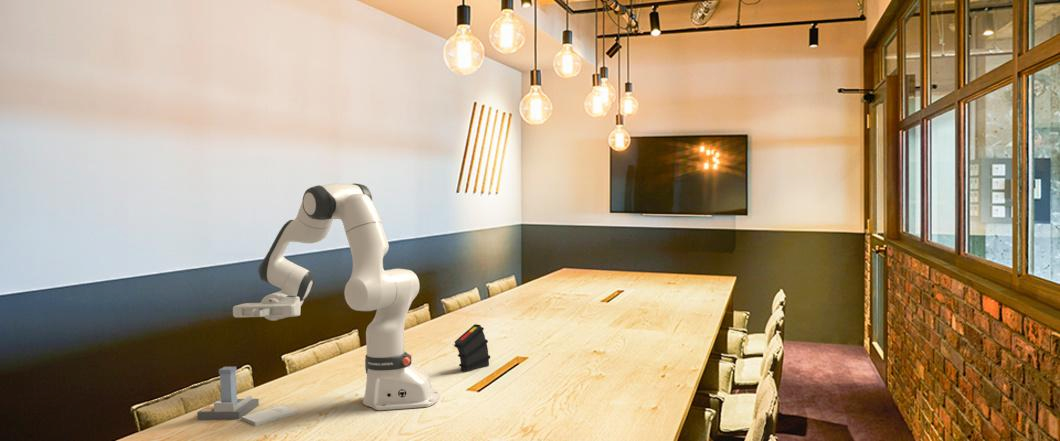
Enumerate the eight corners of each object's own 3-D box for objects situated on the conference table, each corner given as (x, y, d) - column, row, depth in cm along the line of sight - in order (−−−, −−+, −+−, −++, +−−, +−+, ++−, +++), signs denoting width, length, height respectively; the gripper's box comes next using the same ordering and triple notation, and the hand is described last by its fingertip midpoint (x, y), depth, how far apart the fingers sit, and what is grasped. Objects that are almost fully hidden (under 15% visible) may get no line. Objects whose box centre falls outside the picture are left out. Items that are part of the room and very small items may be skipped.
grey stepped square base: (258, 405, 199) (258, 390, 199) (239, 418, 187) (238, 403, 187) (219, 405, 200) (218, 391, 200) (197, 419, 188) (196, 403, 188)
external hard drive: (240, 422, 187) (282, 409, 196) (255, 428, 181) (297, 415, 191) (240, 416, 186) (282, 404, 196) (255, 422, 181) (297, 409, 191)
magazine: (496, 359, 240) (482, 324, 235) (471, 382, 231) (456, 347, 226) (489, 357, 242) (474, 323, 237) (464, 380, 234) (449, 345, 229)
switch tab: (238, 405, 192) (236, 366, 192) (232, 408, 189) (230, 369, 188) (226, 405, 192) (224, 366, 192) (220, 409, 189) (218, 369, 189)
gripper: (243, 297, 223) (222, 304, 209) (304, 296, 222) (287, 303, 208) (244, 316, 223) (223, 324, 209) (305, 315, 222) (287, 323, 208)
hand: (255, 314), depth 208 cm, fingers closed
